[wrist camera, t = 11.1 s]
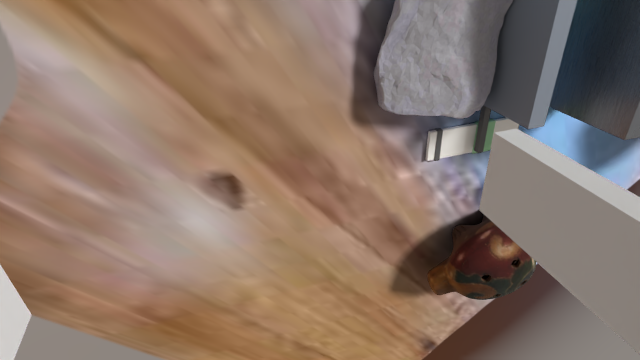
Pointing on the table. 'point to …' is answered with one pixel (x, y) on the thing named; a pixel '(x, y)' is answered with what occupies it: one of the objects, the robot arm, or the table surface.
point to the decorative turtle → (482, 263)
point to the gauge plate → (527, 63)
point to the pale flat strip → (462, 138)
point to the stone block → (439, 56)
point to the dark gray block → (602, 67)
